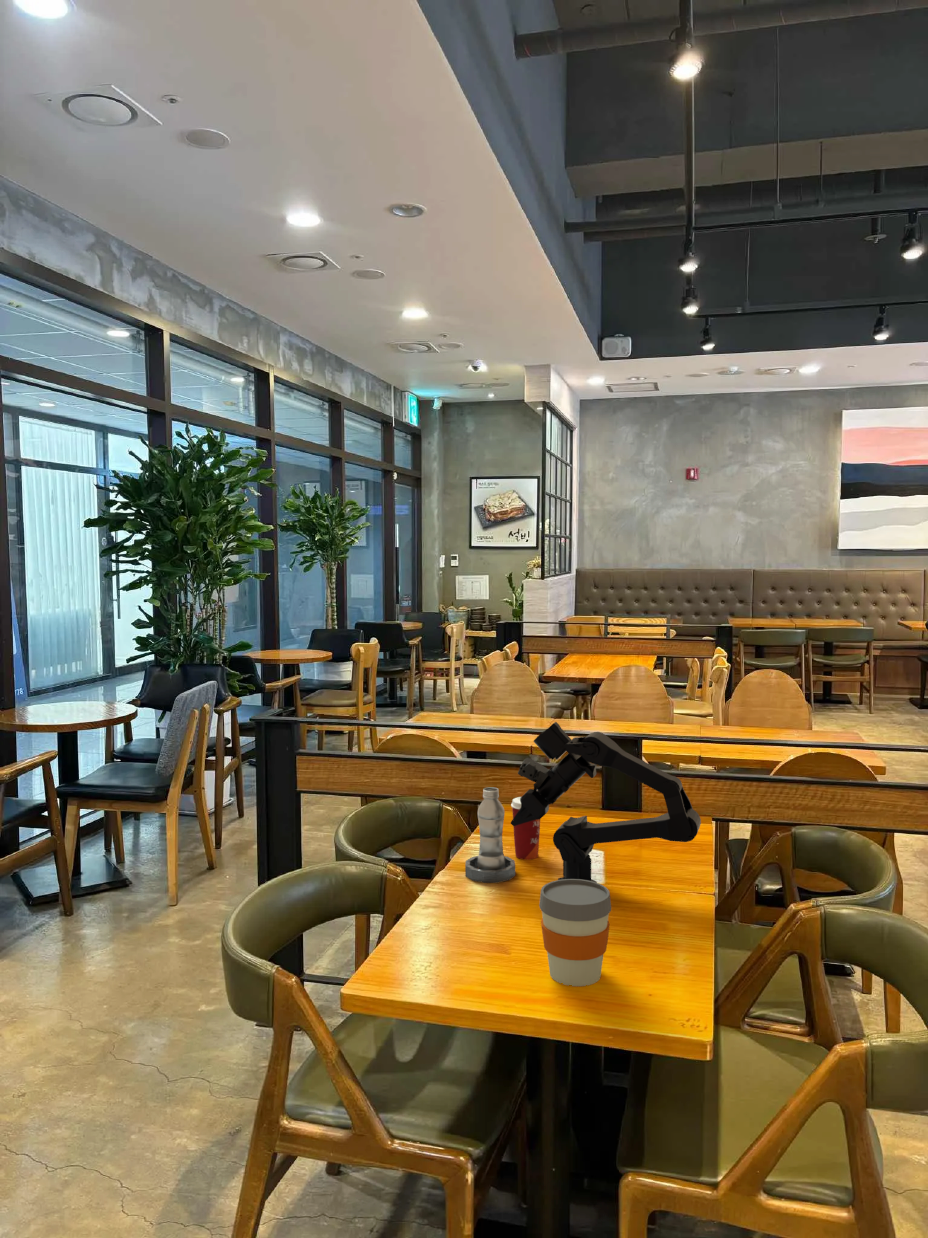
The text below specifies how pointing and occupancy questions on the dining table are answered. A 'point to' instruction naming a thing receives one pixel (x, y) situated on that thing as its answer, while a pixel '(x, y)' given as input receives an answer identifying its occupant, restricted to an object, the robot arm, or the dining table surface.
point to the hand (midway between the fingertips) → (517, 818)
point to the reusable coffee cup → (575, 929)
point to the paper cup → (525, 835)
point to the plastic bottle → (491, 831)
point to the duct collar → (489, 871)
